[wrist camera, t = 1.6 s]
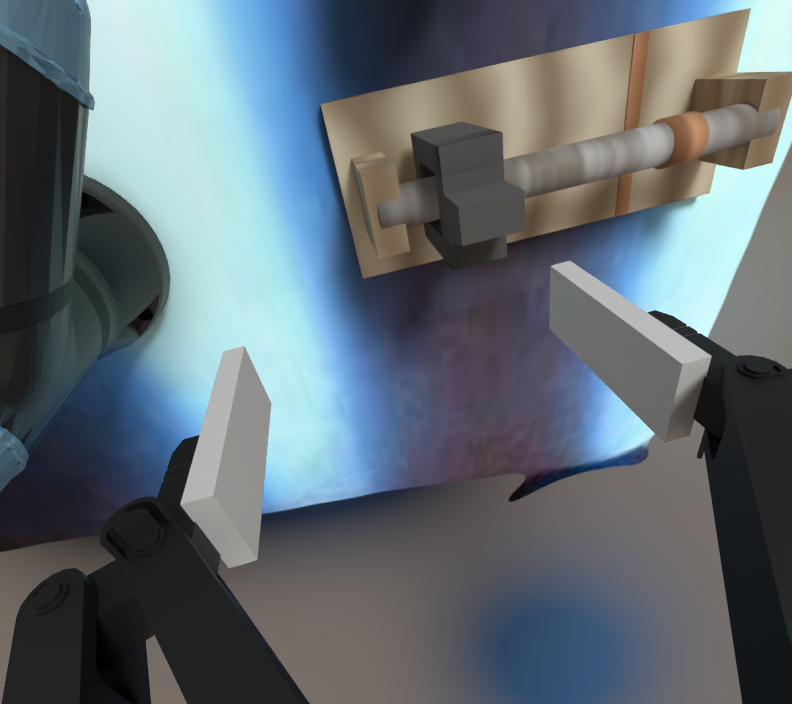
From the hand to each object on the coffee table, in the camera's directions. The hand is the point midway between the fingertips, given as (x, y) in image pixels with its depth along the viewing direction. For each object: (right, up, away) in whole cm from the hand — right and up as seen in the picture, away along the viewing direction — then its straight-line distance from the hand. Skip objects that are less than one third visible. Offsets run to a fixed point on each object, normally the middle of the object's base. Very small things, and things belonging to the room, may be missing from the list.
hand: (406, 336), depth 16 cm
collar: (+3, +13, +18) cm, 23 cm away
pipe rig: (+12, +17, +21) cm, 29 cm away
